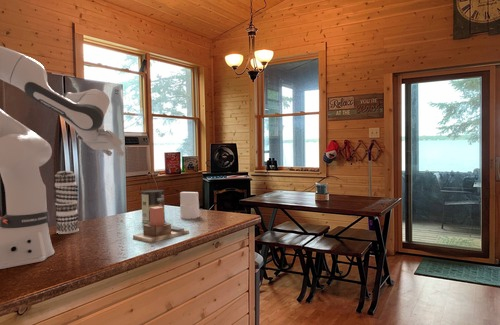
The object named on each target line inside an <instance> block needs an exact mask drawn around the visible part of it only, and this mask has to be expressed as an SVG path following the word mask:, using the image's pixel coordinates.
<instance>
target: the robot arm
mask: <svg viewBox="0 0 500 325" xmlns="http://www.w3.org/2000/svg"><path fill="white" fill-rule="evenodd" d="M0 80H1V81H3V82H5V83H7V84H9V85H12V86H14V87H16V88H18V89H20V90H21V91H22V92H24V93H25V94H26V96H28V98H30V99H31V100H32V101H34V102H35V103H37V104H39V105H40V106H42V107H44V108H46V109H48V110H49V111H51V112H53V113H55V114H57V115H58V116H60V117H61V119H62V120H63V121H64V122H65V123H67V124H68V125H69V126H70V127H72V128H73V129H74V131H75V132H76V133H77V135H76V138H78V140H80V141H81V140H82V141H83V143H84V144H86V145H87V147H89V148H90V149H92V150H95V151H97V150H99V151H100V152H101V153H104V154H105V155H106V156H107V157H111V156H112V155H113V152H112V151H111V150H113V151H115V152H116V153H117V155H118V156H119V157H123V156H124V155H125V152H124V150H123V149H122V145H123V144H124V143H123V140H121V138H119V137H118V136H117V135H116V134H115V133H114V132H113V131H111V130H109V129H105V128H104V127H105V126H104V124H103V122H104V118H105V116H106V113H107V112H108V111H107V110H108V108H109V106H110V98H109V96H108V94H107V93H105V92H104V91H103V90H100V89H99V88H90V89H88V90H84V91H81V92H71V91H70V92H64V93H63V94H62V95H61V94H59V93H58V92H56V91H54V90H53V89H52V88H51V87H50V85H49V83H48V73H47V70H46V68H45V67H44V66H43V64H41V63H40V62H39V61H37V60H36V59H35V58H32V57H30V56H27V55H26V54H23V53H20V52H18V51H16V50H14V49H10V48H7V47H5V46H2V45H1V46H0ZM52 153H53V150H52V146H51V144H50V143H49V142H48V141H47V140H46V139H44V138H43V137H41V136H40V135H39V134H37V133H36V132H34V131H33V130H31V129H30V128H29V127H28V126H26V125H24V124H23V123H21V122H20V121H18V120H17V119H15V118H13V117H12V116H11V115H10V114H7V112H5V111H4V110H3V109H2V108H0V177H1V180H2V183H3V187H4V192H5V193H4V194H5V207H6V213H5V215H3V216H0V270H3V269H7V268H13V267H14V268H15V267H19V266H24V265H28V264H33V263H34V264H35V263H39V262H44V261H45V260H47V258H49V257H51V256H53V255H54V254H55V249H54V247H53V244H52V239H51V236H50V230H49V227H50V212H49V210H48V206H47V187H46V184H45V183H44V182H43V179H42V178H43V177H42V175H41V171H40V167H42V166H43V165H45V164H46V163H47V162H48V161H49V160H50V159H51V157H52Z"/></svg>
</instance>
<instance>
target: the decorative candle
mask: <svg viewBox="0 0 500 325" xmlns="http://www.w3.org/2000/svg"><path fill="white" fill-rule="evenodd" d="M54 180H55V181H54V182H55V183H54V186H52V188H53V190H54V191H53V194H54V195H53V198H55V200H54V205H55V206H56V211H55V212H56V213H55V214H56V215H55V218H56V219H55V222H56V223H55V226H56V228H55V230H56V232H55V233H56V234H57V233H58V234H59V235H66V234H73V233H77V232H79V231H80V229H79V224H80V222H79V221H78V220H79V217H78V216H79V213H78V208H77V204H78V200H79V198H78V197H79V195H78V194H77V192H79V189H78V188H79V186H78V185H77V180H76V173H74V171H72V170H63V171H62V170H61V171H57V172H56V174H55V175H54Z"/></svg>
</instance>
